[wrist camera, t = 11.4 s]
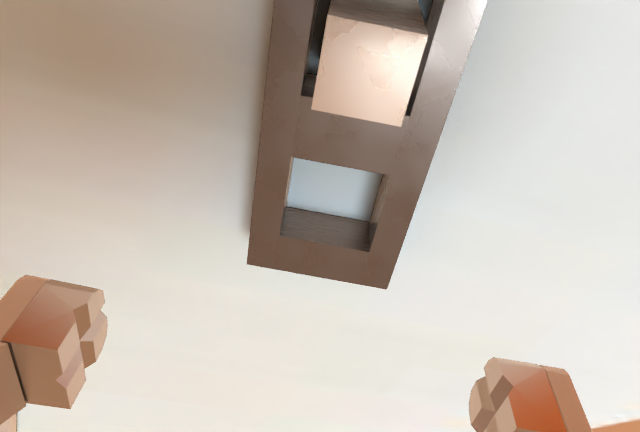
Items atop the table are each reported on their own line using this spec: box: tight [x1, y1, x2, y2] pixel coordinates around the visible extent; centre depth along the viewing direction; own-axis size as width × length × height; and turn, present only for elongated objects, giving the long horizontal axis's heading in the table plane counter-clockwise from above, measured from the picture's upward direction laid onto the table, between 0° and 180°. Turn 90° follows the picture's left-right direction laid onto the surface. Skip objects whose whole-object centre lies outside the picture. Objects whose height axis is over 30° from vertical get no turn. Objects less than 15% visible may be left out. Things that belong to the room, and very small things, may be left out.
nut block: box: [311, 0, 428, 127], centre depth 23 cm, size 4×4×6 cm
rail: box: [247, 0, 488, 289], centre depth 27 cm, size 20×9×3 cm, turn 171°
